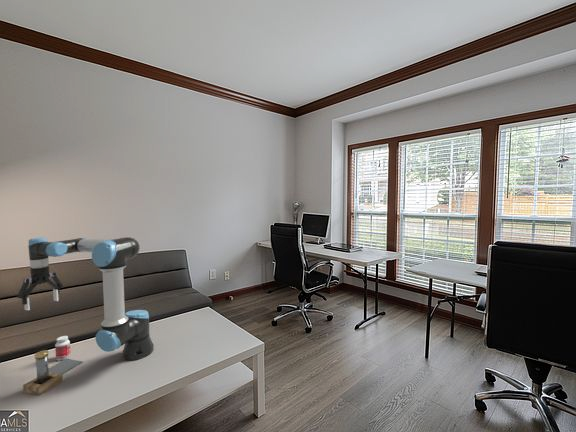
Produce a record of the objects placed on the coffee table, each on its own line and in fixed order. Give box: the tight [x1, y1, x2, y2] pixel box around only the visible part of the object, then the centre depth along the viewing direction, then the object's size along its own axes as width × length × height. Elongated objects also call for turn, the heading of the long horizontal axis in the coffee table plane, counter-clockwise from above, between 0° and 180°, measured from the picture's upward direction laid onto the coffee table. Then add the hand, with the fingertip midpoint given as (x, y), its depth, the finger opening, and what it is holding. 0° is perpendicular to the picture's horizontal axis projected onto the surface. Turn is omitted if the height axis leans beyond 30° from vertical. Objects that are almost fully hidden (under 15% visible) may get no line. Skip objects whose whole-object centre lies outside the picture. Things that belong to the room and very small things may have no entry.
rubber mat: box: [48, 358, 83, 376], centre depth 139 cm, size 11×11×1 cm
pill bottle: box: [54, 335, 72, 362], centre depth 147 cm, size 6×6×11 cm
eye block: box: [22, 372, 64, 396], centre depth 124 cm, size 10×10×3 cm
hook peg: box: [34, 349, 50, 385], centre depth 124 cm, size 5×5×16 cm
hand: (42, 305), depth 149 cm, fingers open, 13 cm apart
